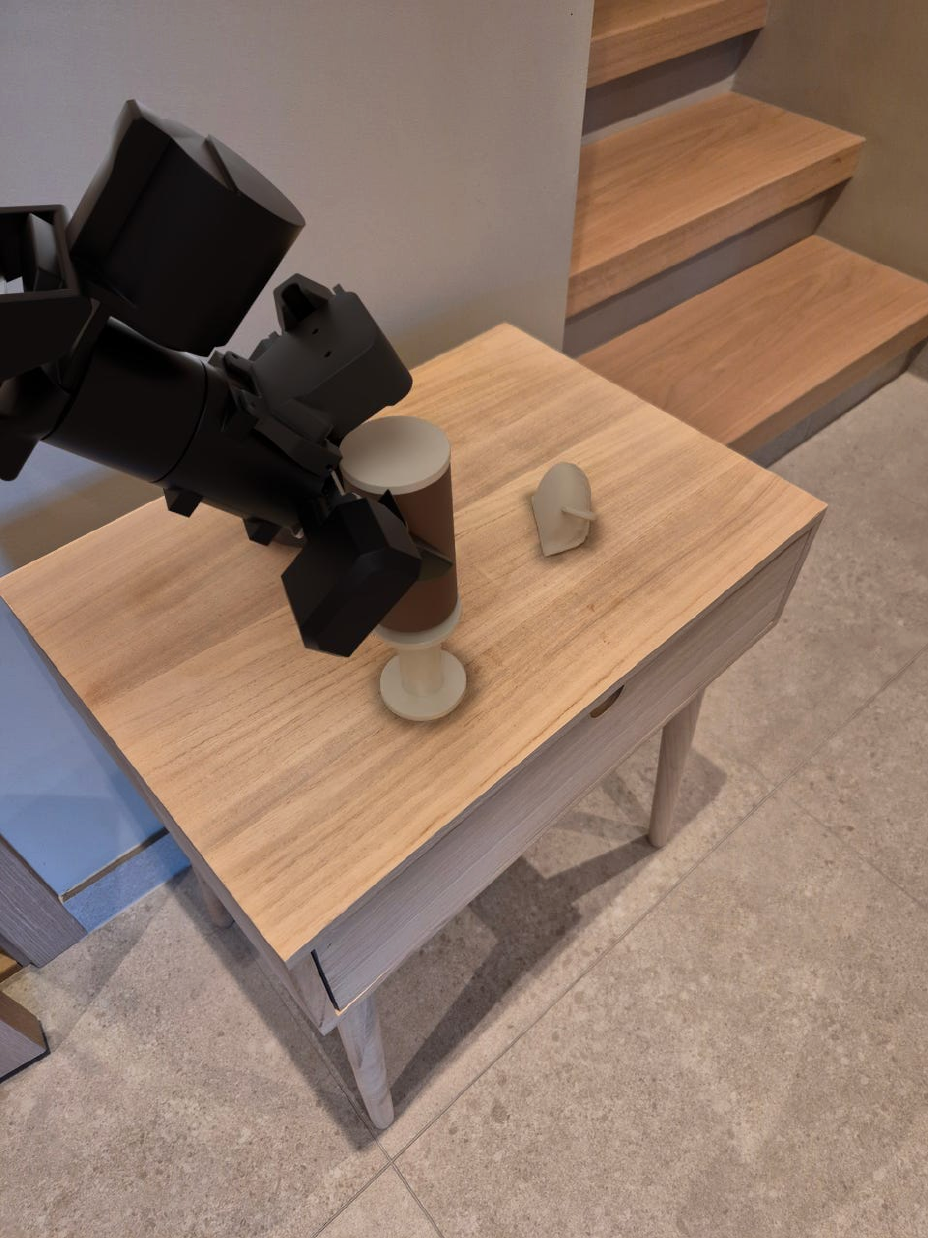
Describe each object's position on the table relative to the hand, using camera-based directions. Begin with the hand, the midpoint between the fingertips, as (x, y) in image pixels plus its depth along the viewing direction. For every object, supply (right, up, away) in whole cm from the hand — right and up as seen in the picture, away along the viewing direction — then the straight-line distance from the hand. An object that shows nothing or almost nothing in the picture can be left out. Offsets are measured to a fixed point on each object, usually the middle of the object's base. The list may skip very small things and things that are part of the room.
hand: (428, 534), depth 47 cm
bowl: (-11, +4, +22) cm, 24 cm away
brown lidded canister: (-1, -3, +3) cm, 5 cm away
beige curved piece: (+10, +2, +19) cm, 22 cm away
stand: (-1, -9, +10) cm, 13 cm away
